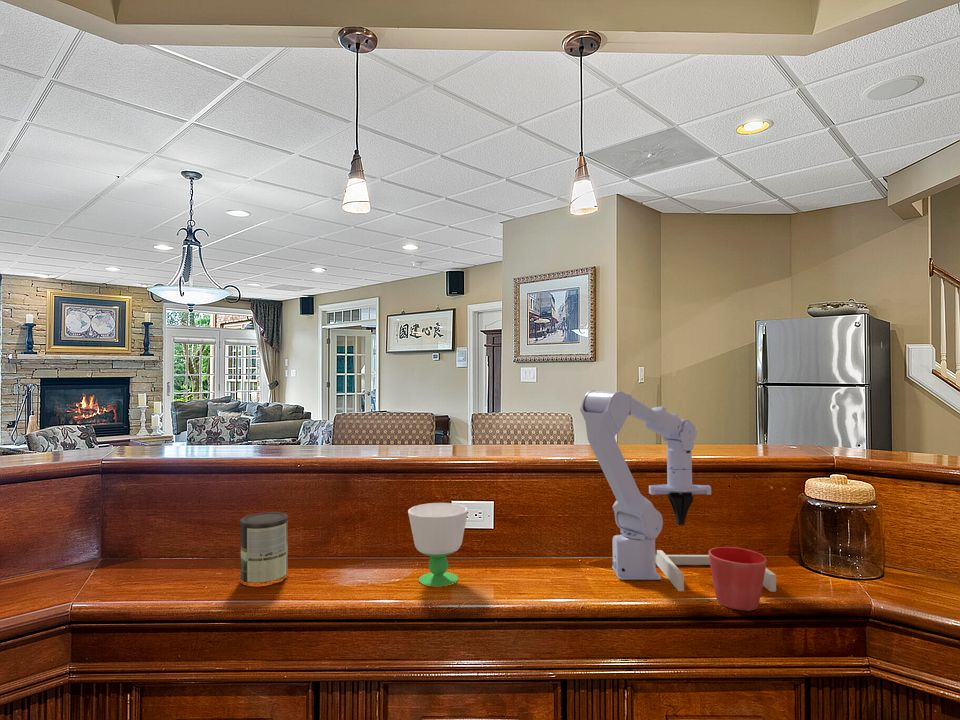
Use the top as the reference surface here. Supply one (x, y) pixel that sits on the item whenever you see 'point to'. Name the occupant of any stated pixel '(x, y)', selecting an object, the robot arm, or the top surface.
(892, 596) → the top surface
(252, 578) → the coffee can
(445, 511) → the cup
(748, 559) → the flower pot
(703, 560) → the u-shaped frame
